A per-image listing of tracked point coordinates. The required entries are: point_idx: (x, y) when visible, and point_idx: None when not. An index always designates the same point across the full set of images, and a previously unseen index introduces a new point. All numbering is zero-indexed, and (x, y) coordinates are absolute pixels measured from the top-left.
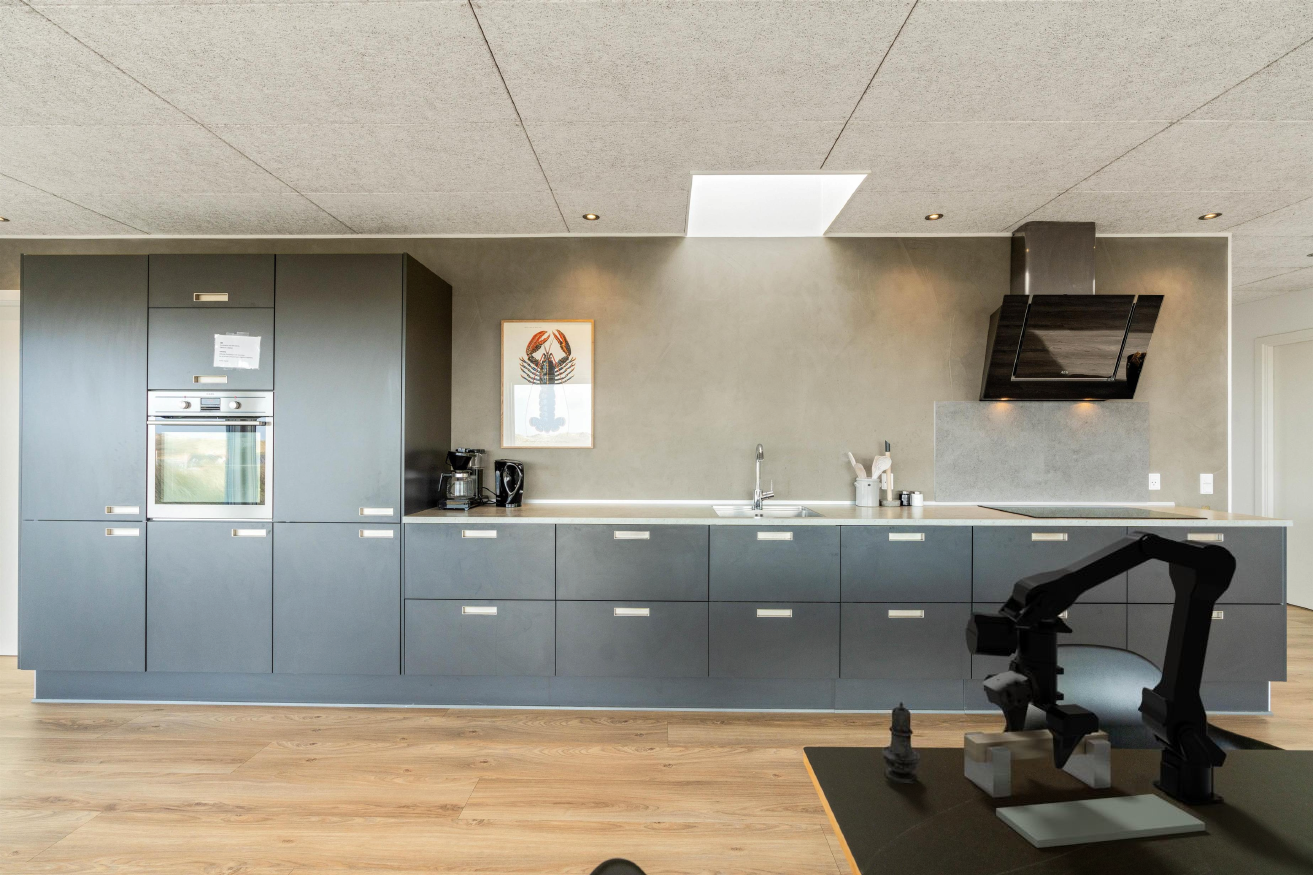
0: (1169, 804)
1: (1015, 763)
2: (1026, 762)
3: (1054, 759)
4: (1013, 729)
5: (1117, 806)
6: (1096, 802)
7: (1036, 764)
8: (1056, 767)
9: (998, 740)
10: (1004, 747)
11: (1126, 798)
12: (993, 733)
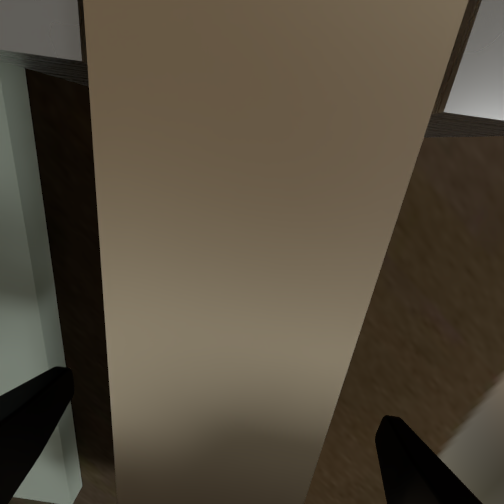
0: (18, 493)
1: (375, 355)
2: (362, 392)
3: (25, 397)
4: (430, 501)
5: (3, 384)
6: (29, 351)
7: (337, 407)
8: (57, 367)
9: (139, 24)
10: (19, 18)
11: (52, 440)
12: (395, 186)
